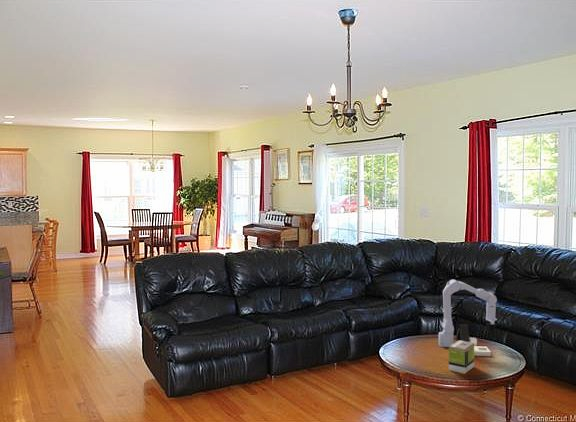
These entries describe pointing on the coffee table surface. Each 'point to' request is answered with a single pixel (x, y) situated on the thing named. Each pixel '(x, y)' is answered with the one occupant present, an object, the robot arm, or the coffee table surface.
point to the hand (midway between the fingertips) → (490, 332)
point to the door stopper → (462, 333)
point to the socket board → (481, 351)
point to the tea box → (461, 356)
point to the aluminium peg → (473, 341)
